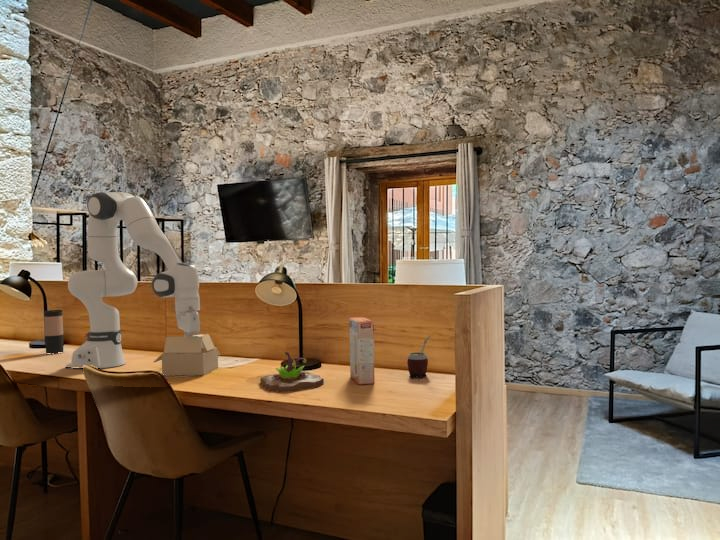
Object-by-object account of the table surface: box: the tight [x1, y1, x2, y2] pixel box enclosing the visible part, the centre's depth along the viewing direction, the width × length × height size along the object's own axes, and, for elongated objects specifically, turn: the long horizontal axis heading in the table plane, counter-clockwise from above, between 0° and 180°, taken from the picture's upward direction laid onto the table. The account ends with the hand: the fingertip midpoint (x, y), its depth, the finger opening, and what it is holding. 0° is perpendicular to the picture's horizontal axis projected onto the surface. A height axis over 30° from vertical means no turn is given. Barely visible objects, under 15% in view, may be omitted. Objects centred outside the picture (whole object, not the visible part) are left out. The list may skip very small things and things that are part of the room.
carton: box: [153, 346, 221, 377], centre depth 214 cm, size 21×19×8 cm
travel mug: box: [43, 309, 64, 353], centre depth 263 cm, size 8×8×20 cm
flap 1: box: [163, 336, 203, 353], centre depth 205 cm, size 14×1×6 cm, turn 82°
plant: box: [259, 350, 325, 393], centre depth 187 cm, size 20×20×11 cm
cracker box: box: [348, 316, 376, 385], centre depth 190 cm, size 14×6×21 cm, turn 12°
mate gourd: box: [407, 334, 434, 379], centre depth 193 cm, size 8×8×15 cm
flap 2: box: [200, 333, 216, 351], centre depth 210 cm, size 1×7×6 cm, turn 172°
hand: (189, 342), depth 210 cm, fingers closed
